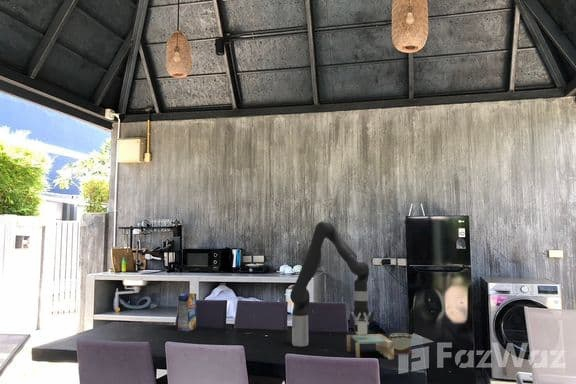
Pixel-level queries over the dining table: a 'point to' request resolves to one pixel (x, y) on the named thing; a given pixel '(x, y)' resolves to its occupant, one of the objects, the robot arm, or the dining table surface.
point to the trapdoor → (368, 339)
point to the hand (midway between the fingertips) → (361, 331)
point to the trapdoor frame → (383, 348)
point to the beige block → (361, 327)
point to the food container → (401, 342)
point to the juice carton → (187, 312)
